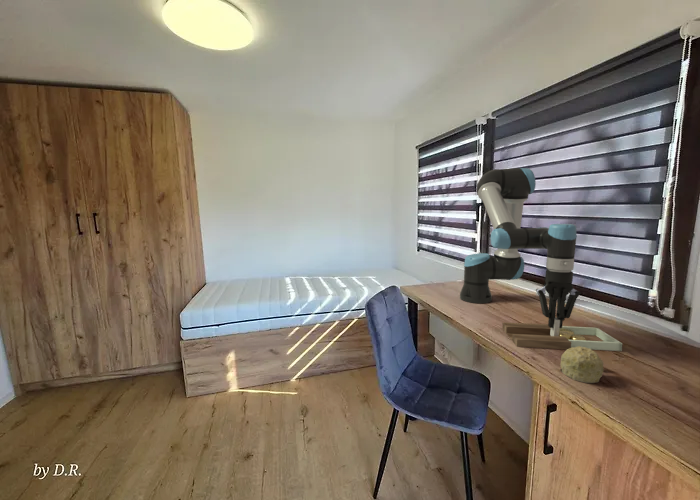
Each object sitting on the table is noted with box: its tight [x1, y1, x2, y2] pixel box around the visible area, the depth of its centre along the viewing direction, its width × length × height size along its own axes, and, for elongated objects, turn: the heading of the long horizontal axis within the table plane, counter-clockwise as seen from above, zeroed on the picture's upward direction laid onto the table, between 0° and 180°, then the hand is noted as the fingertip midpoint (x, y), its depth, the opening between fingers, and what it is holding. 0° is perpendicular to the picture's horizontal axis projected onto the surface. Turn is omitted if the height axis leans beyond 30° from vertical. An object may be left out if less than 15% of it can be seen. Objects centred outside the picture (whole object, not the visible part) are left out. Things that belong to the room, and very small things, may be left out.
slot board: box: [501, 321, 571, 351], centre depth 104 cm, size 15×16×4 cm
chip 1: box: [560, 329, 574, 335], centre depth 105 cm, size 4×4×2 cm
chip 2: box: [559, 331, 571, 340], centre depth 102 cm, size 4×4×2 cm
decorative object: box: [560, 346, 604, 384], centre depth 83 cm, size 9×10×10 cm
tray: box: [559, 325, 623, 352], centre depth 101 cm, size 13×15×4 cm
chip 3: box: [570, 334, 586, 341], centre depth 100 cm, size 4×4×2 cm
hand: (554, 336), depth 103 cm, fingers closed
